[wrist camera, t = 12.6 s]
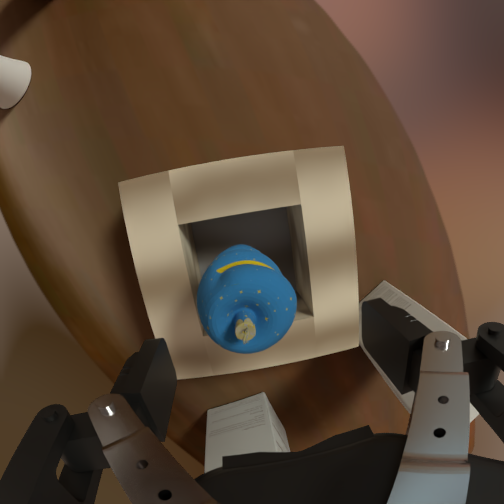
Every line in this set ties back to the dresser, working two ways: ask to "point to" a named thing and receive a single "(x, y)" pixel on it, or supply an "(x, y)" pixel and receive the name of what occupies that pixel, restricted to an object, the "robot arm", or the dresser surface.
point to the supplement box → (243, 430)
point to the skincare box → (421, 314)
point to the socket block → (252, 234)
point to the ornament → (245, 301)
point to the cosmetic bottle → (13, 81)
